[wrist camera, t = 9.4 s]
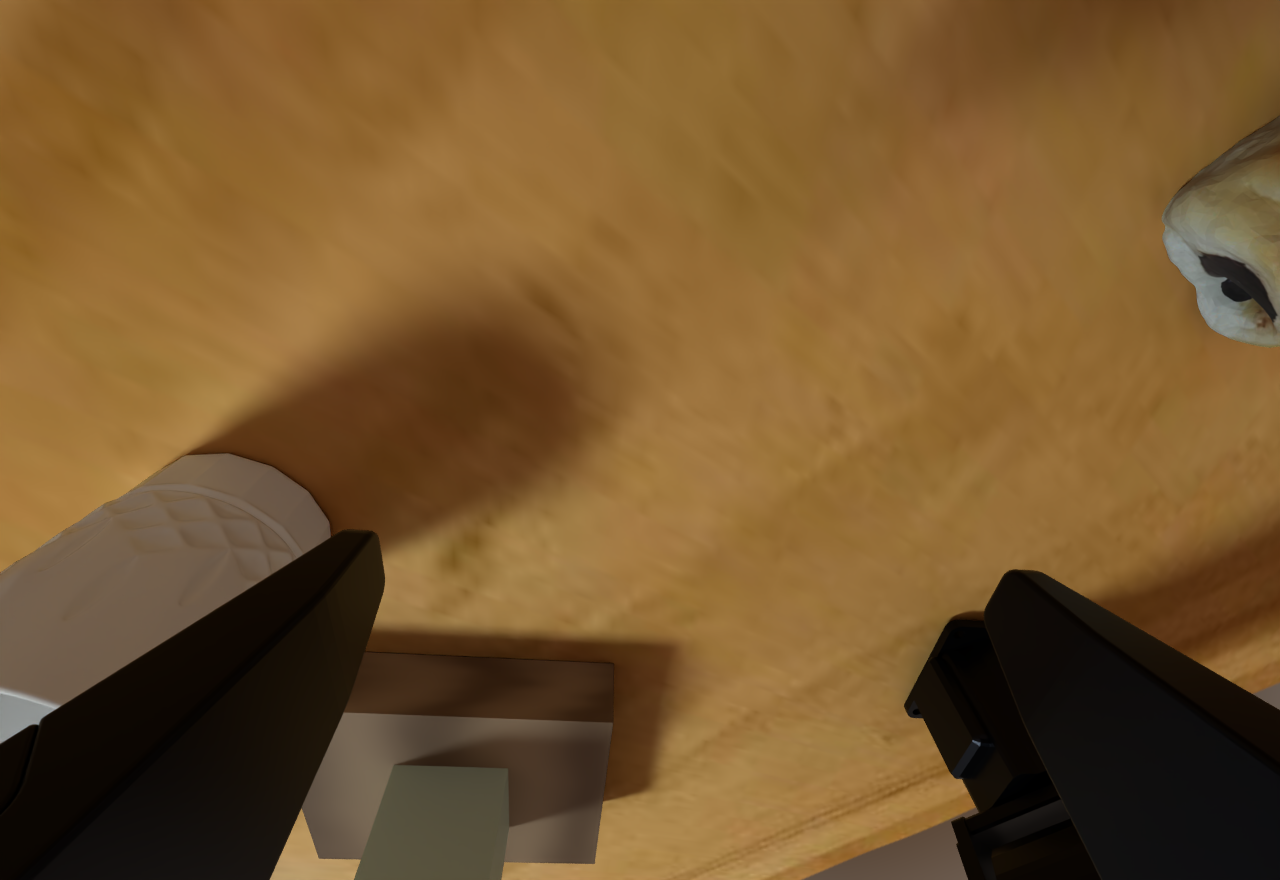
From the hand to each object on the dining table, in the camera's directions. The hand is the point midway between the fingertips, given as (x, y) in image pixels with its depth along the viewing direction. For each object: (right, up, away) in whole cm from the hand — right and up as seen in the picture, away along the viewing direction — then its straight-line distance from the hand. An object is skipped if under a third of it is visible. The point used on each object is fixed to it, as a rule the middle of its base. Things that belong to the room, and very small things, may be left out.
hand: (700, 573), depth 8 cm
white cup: (-16, -1, +14) cm, 22 cm away
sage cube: (-10, -15, +19) cm, 26 cm away
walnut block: (-10, -13, +21) cm, 27 cm away
